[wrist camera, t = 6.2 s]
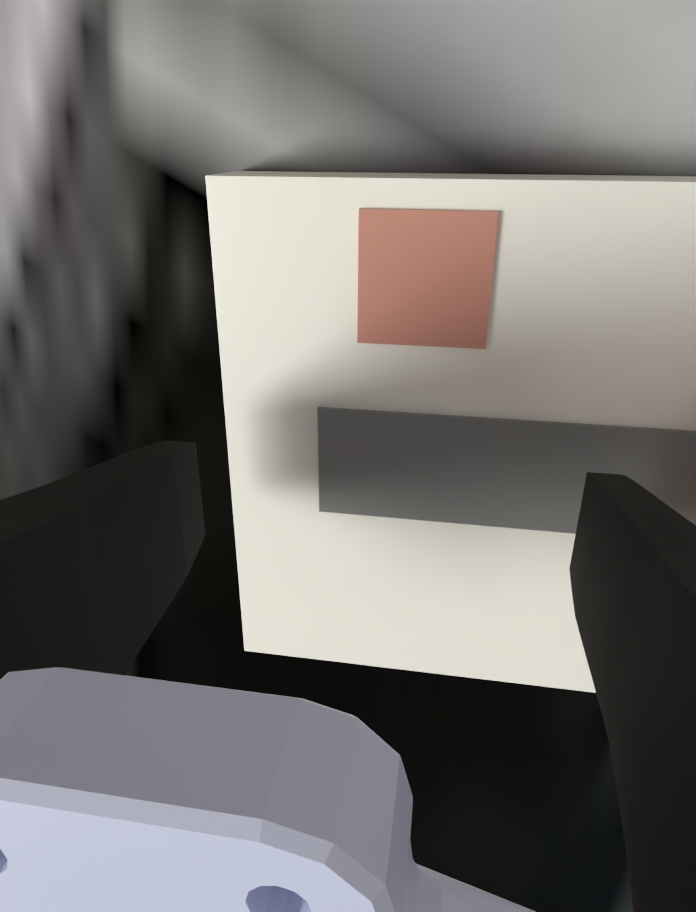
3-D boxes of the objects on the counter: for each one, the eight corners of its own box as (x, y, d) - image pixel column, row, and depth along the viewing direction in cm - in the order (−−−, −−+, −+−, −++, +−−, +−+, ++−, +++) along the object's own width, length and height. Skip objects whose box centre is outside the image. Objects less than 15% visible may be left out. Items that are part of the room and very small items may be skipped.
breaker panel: (902, 669, 16) (959, 739, 14) (266, 601, 18) (243, 653, 16) (1139, 181, 11) (1271, 189, 9) (239, 170, 14) (202, 176, 12)
